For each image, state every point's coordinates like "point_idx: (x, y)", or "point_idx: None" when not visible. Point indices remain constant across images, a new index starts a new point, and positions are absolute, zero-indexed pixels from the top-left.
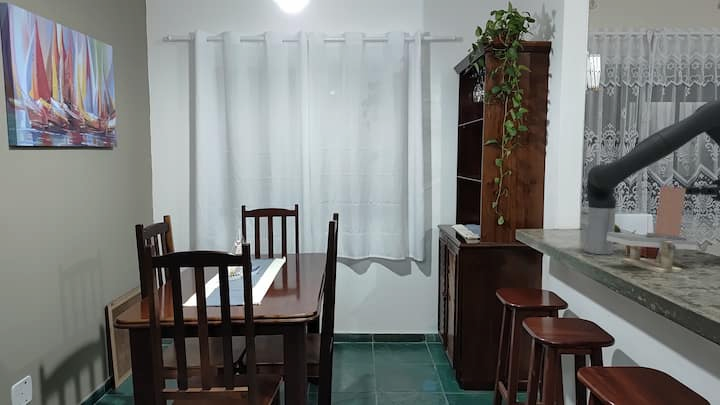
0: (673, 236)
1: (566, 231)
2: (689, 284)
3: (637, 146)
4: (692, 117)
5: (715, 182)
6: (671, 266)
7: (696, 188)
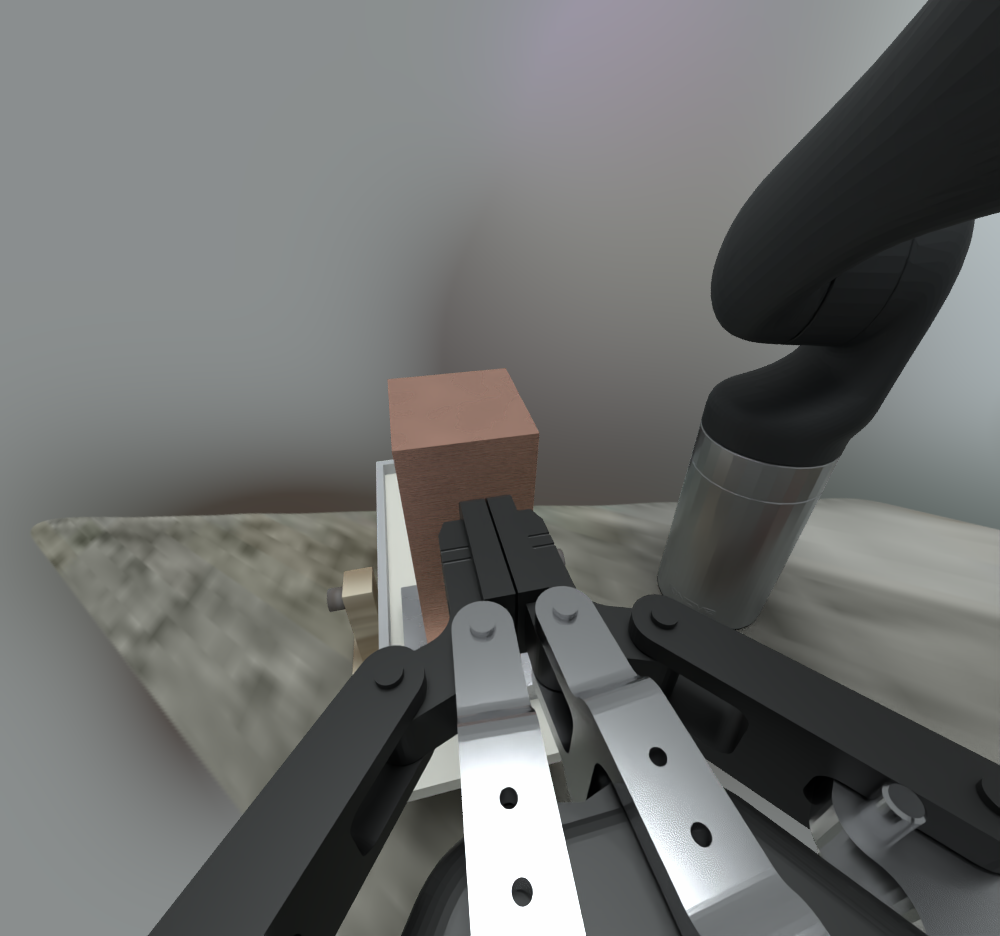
0: (424, 638)
1: None
2: (205, 624)
3: None
4: None
5: None
6: (363, 659)
7: (480, 587)
